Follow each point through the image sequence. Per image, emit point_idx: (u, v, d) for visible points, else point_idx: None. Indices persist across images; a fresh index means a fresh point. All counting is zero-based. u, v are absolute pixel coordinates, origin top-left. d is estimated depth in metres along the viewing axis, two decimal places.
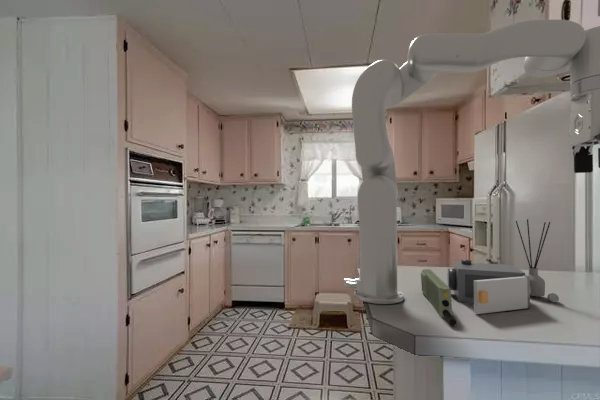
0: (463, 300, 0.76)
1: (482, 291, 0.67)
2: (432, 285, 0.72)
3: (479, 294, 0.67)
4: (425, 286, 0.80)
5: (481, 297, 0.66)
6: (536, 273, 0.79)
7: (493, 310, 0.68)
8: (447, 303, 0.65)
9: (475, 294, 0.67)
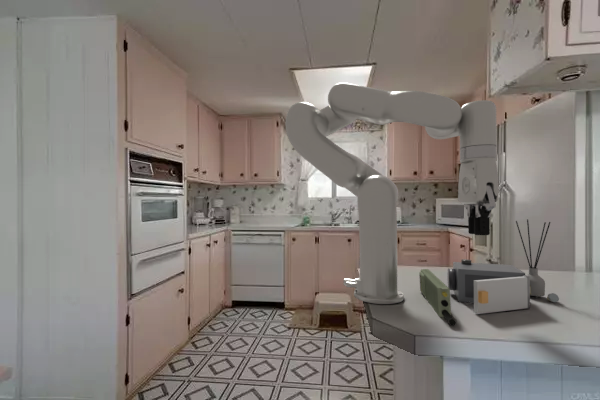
0: (463, 300, 0.76)
1: (482, 291, 0.67)
2: (431, 285, 0.73)
3: (479, 294, 0.67)
4: (424, 286, 0.80)
5: (481, 297, 0.66)
6: (536, 273, 0.79)
7: (493, 310, 0.68)
8: (446, 303, 0.65)
9: (475, 294, 0.67)
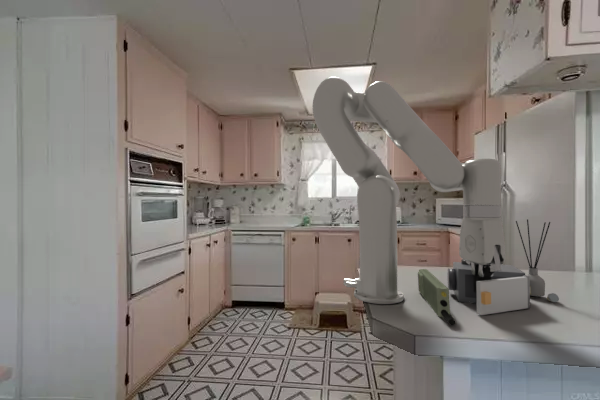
0: (463, 300, 0.76)
1: (485, 292, 0.66)
2: (430, 285, 0.73)
3: (482, 295, 0.66)
4: (422, 286, 0.80)
5: (484, 298, 0.65)
6: (536, 273, 0.79)
7: (495, 311, 0.67)
8: (445, 303, 0.65)
9: (478, 295, 0.67)
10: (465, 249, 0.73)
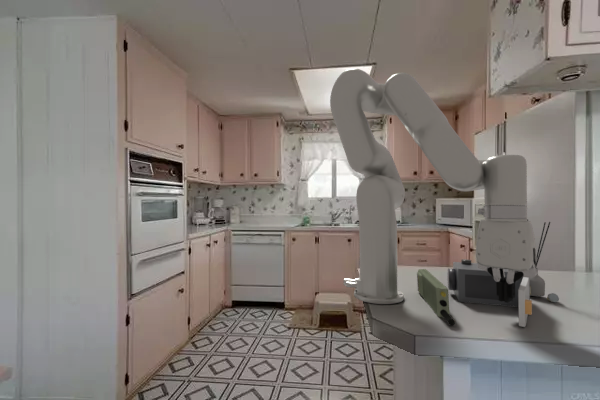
0: (463, 300, 0.76)
1: (528, 300, 0.60)
2: (429, 285, 0.73)
3: (527, 304, 0.60)
4: (421, 286, 0.80)
5: (530, 308, 0.59)
6: None
7: (526, 318, 0.63)
8: (445, 303, 0.65)
9: (521, 305, 0.60)
10: (490, 254, 0.65)
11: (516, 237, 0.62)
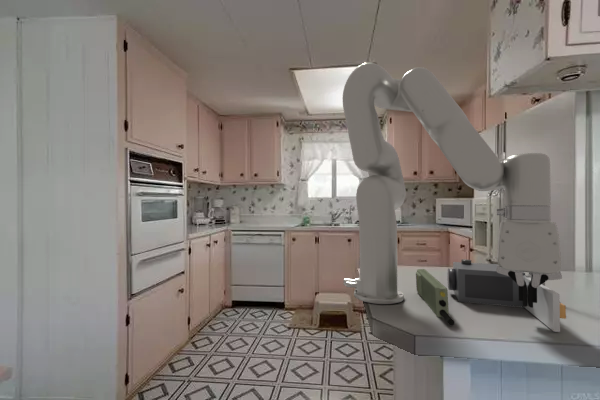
0: (463, 300, 0.76)
1: (560, 304, 0.58)
2: (428, 285, 0.73)
3: (561, 308, 0.57)
4: (420, 286, 0.80)
5: (564, 311, 0.57)
6: None
7: None
8: (444, 303, 0.65)
9: (556, 309, 0.57)
10: (516, 258, 0.61)
11: (546, 239, 0.59)
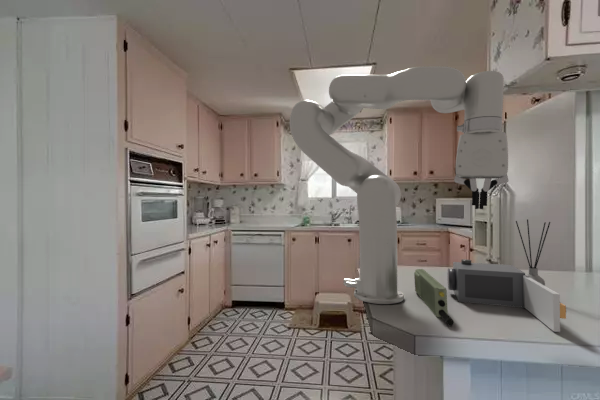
0: (463, 300, 0.76)
1: (560, 304, 0.58)
2: (427, 285, 0.73)
3: (561, 308, 0.57)
4: (419, 286, 0.80)
5: (564, 311, 0.57)
6: (536, 273, 0.79)
7: None
8: (443, 303, 0.65)
9: (556, 309, 0.57)
10: (471, 165, 0.69)
11: (497, 146, 0.67)
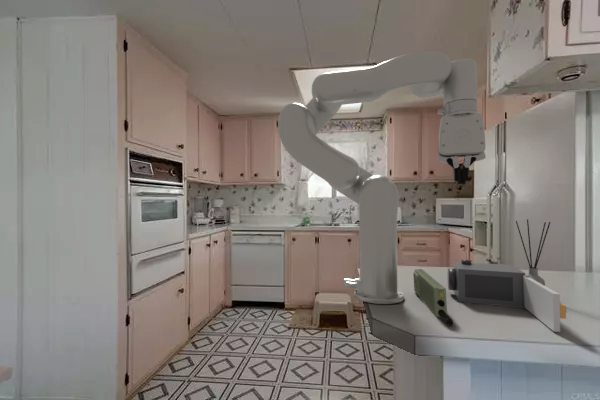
0: (463, 300, 0.76)
1: (560, 304, 0.58)
2: (426, 285, 0.73)
3: (561, 308, 0.57)
4: (418, 286, 0.80)
5: (564, 311, 0.57)
6: (536, 273, 0.79)
7: None
8: (443, 303, 0.65)
9: (556, 309, 0.57)
10: (453, 144, 0.76)
11: (475, 125, 0.74)
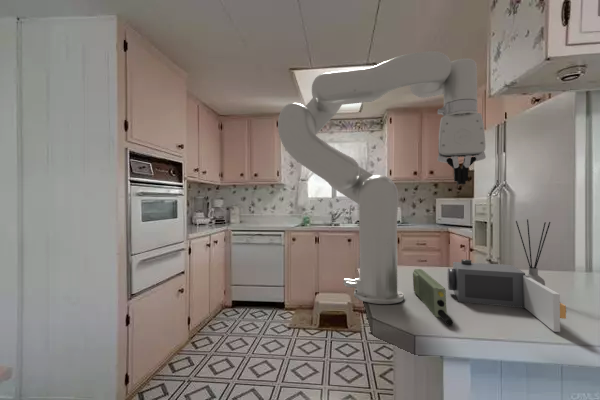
0: (463, 300, 0.76)
1: (560, 304, 0.58)
2: (426, 285, 0.73)
3: (561, 308, 0.57)
4: (417, 286, 0.80)
5: (564, 311, 0.57)
6: (536, 273, 0.79)
7: None
8: (442, 303, 0.65)
9: (556, 309, 0.57)
10: (453, 144, 0.76)
11: (475, 125, 0.74)
